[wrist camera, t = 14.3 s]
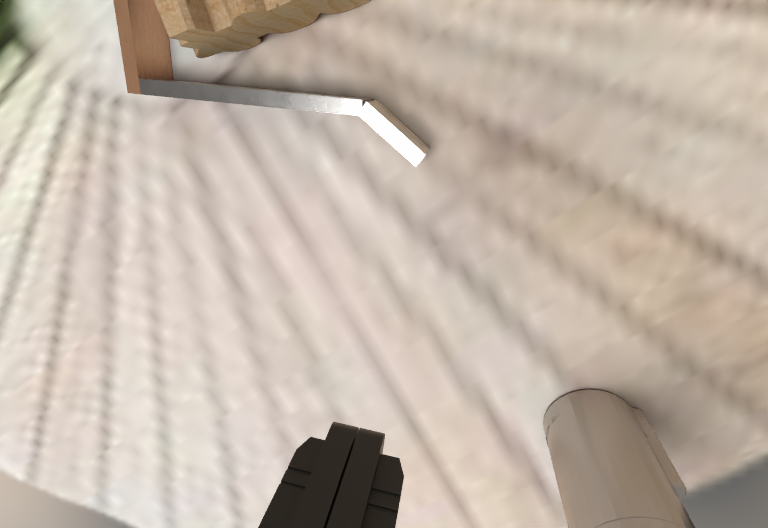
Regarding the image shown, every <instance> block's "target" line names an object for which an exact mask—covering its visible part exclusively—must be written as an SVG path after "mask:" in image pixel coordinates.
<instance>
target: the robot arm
mask: <svg viewBox="0 0 768 528" xmlns="http://www.w3.org/2000/svg"><path fill="white" fill-rule="evenodd" d="M544 430H545V434H546V440H547V444H548V447H549V451H550V455H551V459H552V463H553V467H554V471H555V475H556V479H557V484H558V488H559V492H560V496H561V500H562V504H563V508H564V512H565V516H566V520H567V524H568V528H695V526H694V524H693V523H692V521H691V519H690V517H689V515H688V513H687V511H686V509H685V507H684V506H683V504H682V500H683V498H684V496H685V495H686V487H685V485H684V483H683V482H682V480H681V478H680V476H679V475H678V473H677V471H676V469H675V468H674V466H673V464H672V462H671V461H670V459H669V457H668V455H667V454H666V452H665V450H664V448H663V446H662V445H661V443H660V441H659V439H658V438H657V436H656V434H655V432H654V431H653V429H652V427H651V425H650V424H649V422H648V420H647V418H646V417H645V415H644V413H643V411H642V410H640V409H635V408H632V407H631V406H629V405H628V404H627V403H626V402H625V401H624V400H623V399H621V398H620V397H618V396H616V395H614V394H611V393H609V392H606V391H600V390H580V391H575V392H572V393H569V394H566V395H564V396H562V397H560V398H559V399H558V400H556V401H555V402H554V403H553V404H552V405H551V406H550V407H549V408H548V410H547V412H546V414H545V417H544ZM384 439H385V434H384V433H380V432H376V431H371V430H367V429H363V428H360V429H359V428H358V427H354V426H350V425H346V424H341V423H337V422H333V423H332V425H331V427H330V430H329V432H328V435H327V437H326V439H325V440H321V439H317V438H313V437H310V438H309V439H308V440H307V441H306V442H304V443H303V444H302V445H301V446H300V447H299V448H298V449H297V450H296V452H295V454H294V456H293V458H292V460H291V462H290V464H289V466H288V469H287V470H286V472H285V474H284V476H283V478H282V480H281V484H279V486H278V488H277V490H276V492H275V494H274V496H273V499H272V501H271V503H270V505H269V507H268V509H267V511H266V513H265V515H264V517H263V519H262V521H261V523H260V525H259V527H258V528H395V525H396V519H397V513H398V508H399V502H400V496H401V490H402V485H403V479H404V475H403V471H402V467H401V463H400V459H399V458H396V457H392V456H388V455H383V454H382V452H383V445H384Z"/></svg>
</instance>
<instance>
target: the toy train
mask: <svg viewBox="0 0 768 528" xmlns="http://www.w3.org/2000/svg"><path fill="white" fill-rule="evenodd" d="M154 1H155V4H156V6H157V9H158V11H159V13H160V16H161V18H162V21H163V23H164V26H165V28H166V31H167V33H168V35H169V38H173V39H178V40H179V43H180V45H181V46H183V47H188V48H193V49H194V52H195V54H196V57H198V58H205V57H209V56H211V55H214V54H217V53H220V52H223V51H230V52H233V51H241V50H245V49H249V48H252V47H254V46H256V45H258V44H259V43H260V41H261V40H260V37H261V36H263V35H266V34H268V33H284V32H291V31H294V30H297V29H300V28H303V27H305V26H308V25H310V24H311V23H313V22H314V21H315V20H316V19H317V17H318V15H319V14H320V13H325V14H335V13H341V12H345V11H349V10H352V9H354V8H357V7H360V6H362V5H364V4H366V3H367V2H369V1H370V0H154Z"/></svg>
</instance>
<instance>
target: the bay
mask: <svg viewBox="0 0 768 528" xmlns="http://www.w3.org/2000/svg"><path fill="white" fill-rule="evenodd" d="M114 6H115V13H116V19H117V25H118V32H119V38H120V45H121V51H122V58H123V64H124V71H125V77H126V84H127V90H128V93H134V94H144V95H154V96H164V97H174V98H184V99H194V100H204V101H214V102H224V103H234V104H244V105H254V106H264V107H274V108H284V109H294V110H304V111H314V112H324V113H334V114H344V115H354V116H360V117H361V118H362V119H363V120H364V121H365V122H366V123H367V124H369V125H370V126H371V127H372V128H373V129H374V130H375V131H376V132H378V133H379V134H380V135H381V136H382V137H383V138H384V139H385V140H386V141H388V142H389V143H390V144H391V145H392V146H393V147H394V148H395V149H396V150H398V151H399V152H400V153H401V154H402V155H403V156H404V157H405V158H406V159H408V160H409V161H410V162H411V163H412V164H413V165H414V166H415V167H416V166H417V165H418V163H419V162H420V161H421V160H422V159H423V158H424V157H425V155H426V154H427V152H428V150H429V147H428V146H427V145H426V144H425V143H424V142H423V141H421V140H420V139H419V138H418V137H417V136H416V135H415V134H414V133H413V132H412V131H410V130H409V129H408V128H407V127H406V126H405V125H404V124H403V123H402V122H401V121H399V120H398V119H397V118H396V117H395V116H394V115H393V114H392V113H391V112H390V111H388V110H387V109H386V108H385V107H384V106H383V105H382V104H381V103H380V102H379V101H374V99H370V98H359V97H348V96H338V95H327V94H316V93H306V92H295V91H285V90H274V89H263V88H253V87H242V86H231V85H221V84H210V83H200V82H189V81H178V80H173V73H172V64H171V55H170V46H169V37H168V33H167V31H166V28H165V26H164V23H163V21H162V18H161V16H160V13H159V11H158V9H157V6H156V4H155V1H154V0H114Z"/></svg>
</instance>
